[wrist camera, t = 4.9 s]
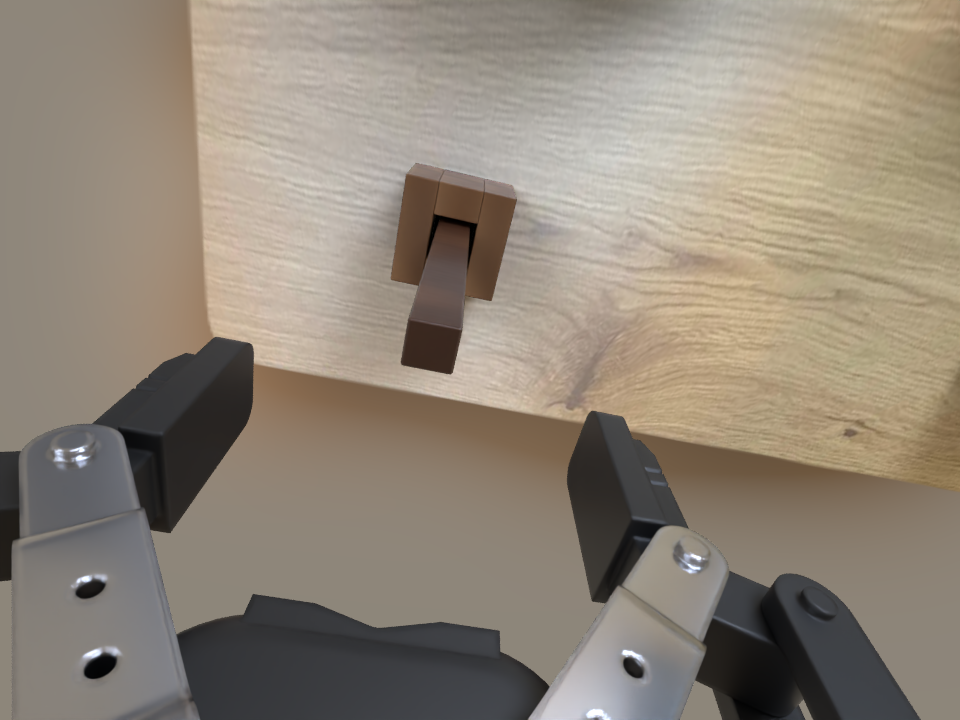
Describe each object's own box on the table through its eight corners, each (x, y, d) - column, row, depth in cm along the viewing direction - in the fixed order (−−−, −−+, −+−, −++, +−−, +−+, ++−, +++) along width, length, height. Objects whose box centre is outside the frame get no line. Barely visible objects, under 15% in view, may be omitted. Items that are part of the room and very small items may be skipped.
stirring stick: (438, 233, 30) (399, 365, 16) (443, 205, 29) (408, 318, 15) (465, 239, 30) (452, 376, 16) (471, 211, 29) (462, 329, 15)
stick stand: (400, 257, 30) (390, 280, 27) (415, 162, 28) (406, 173, 24) (490, 277, 31) (491, 301, 27) (512, 185, 28) (517, 199, 25)
